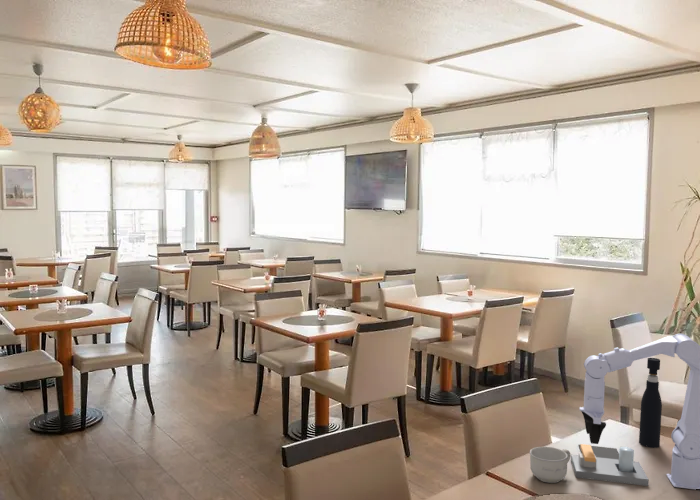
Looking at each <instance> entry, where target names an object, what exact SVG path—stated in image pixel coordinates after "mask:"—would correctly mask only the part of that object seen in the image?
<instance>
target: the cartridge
mask: <svg viewBox="0 0 700 500" xmlns="http://www.w3.org/2000/svg"><path fill="white" fill-rule="evenodd" d="M618 448H619V450H618V453H619V467H618V471H622V472H631V473H633V461H634V459H635V458H634V457H635V453H634V452H635V450H634V449H633V448H632V447H629V446H620V447H618Z"/></svg>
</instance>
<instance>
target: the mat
mask: <svg viewBox="0 0 700 500" xmlns="http://www.w3.org/2000/svg"><path fill="white" fill-rule="evenodd" d="M580 444H581V443H580ZM580 444H578V447H579V452H580V453H582V451H581V448H580ZM591 448H592V450H593V453H594V454H595V456H596V457H600V458H609V459H618V460H619V450H618V449H617V448H616V447H605V446H597V445H591Z"/></svg>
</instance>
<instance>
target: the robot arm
mask: <svg viewBox="0 0 700 500" xmlns="http://www.w3.org/2000/svg"><path fill="white" fill-rule="evenodd" d="M675 354H676V356H677V357H678V358H679V359H680V360H682V361H683V362H684V363H685V364H687V366H688V367H689V369H690V370H689V375H688V381H687V386H686V390H685V391H686V392H685V394H684V395H685V396H684V401H683V405H682V411H681V416H680V419H679V420H678V421H677V422H676V423H677V424H676V427H675V428H674V429H673V430H672V432H671V435H670V436H671V440H672V442H673V443H674V446H673V448H672V450H671V452H672V453H671V468H670V469H671V470H670V473H666V475H665V476H666V477H667V479H668V480H669V481H670V483H671V485H672V486H673V487H674V488H678V489H679V488H680V489H681V488H682V489H687V490H688V489H689V490H696V489H700V344H699V343H697V341H694V340H693V339H692V338H691V337H690V336H689V335H687V334H685V333H676V334H673V335H667V336H664V337H662V338H659V339H657V340H654V341H651V342H648V343H646V344H643V345H640V346H637V347H635V348H632V349H626V348H623V347H621V348H619V347H614V348H613V350H611V351H607V352H604V353H601V352H600V353H598V354H597V355H589V356H588V357H587V358H586V359H584V363H583V367H584V369H585V370H586V371H585V373H584V374H585V375H584V377H585V379H584V387H583V388H584V389H583V390H584V391H583V392H584V393H583V394H584V395H583V406H582V407H581V406H579V409H578V410H579V411H580V412H581V413H582V416H583V419H584V427H585V431H586V434H587V435H588V436H589V437H588V438H589V442H590V444H593V445H599V443H600V440H601V436H602V434H603V431H604V429H605V428H606V426H607V423H606V422H603V421H602V418H603V416H604V415H605V410H604V409H605V389H606V388H605V387H606V382H605V378H606V375H607V374H608V373H612V372H615V371H619V370H621V369H626V368H628V367H631V366H632V364H633V363H634V362H635V361H638V360H642V359H648V358H652V357H655V356H658V355H664V356H668V357H671V358H675V357H676V356H675Z"/></svg>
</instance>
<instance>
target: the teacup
mask: <svg viewBox="0 0 700 500" xmlns="http://www.w3.org/2000/svg"><path fill="white" fill-rule="evenodd" d="M529 458H530V459H529V461H530V470H531V473H532V474H533V476H535V477H536V478H537V480H539V481H541V482H543V483H550V484H551V483H554V484H555V483H558V482H560V481H562V480H563V479H564V478H565V477H566V476H567V473H568V463H569V462H570V461H571V451H569V449H566V448H564V449H560V448H556V447H554V446H553V447H552V446H537V447H533V448H530V450H529Z"/></svg>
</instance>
